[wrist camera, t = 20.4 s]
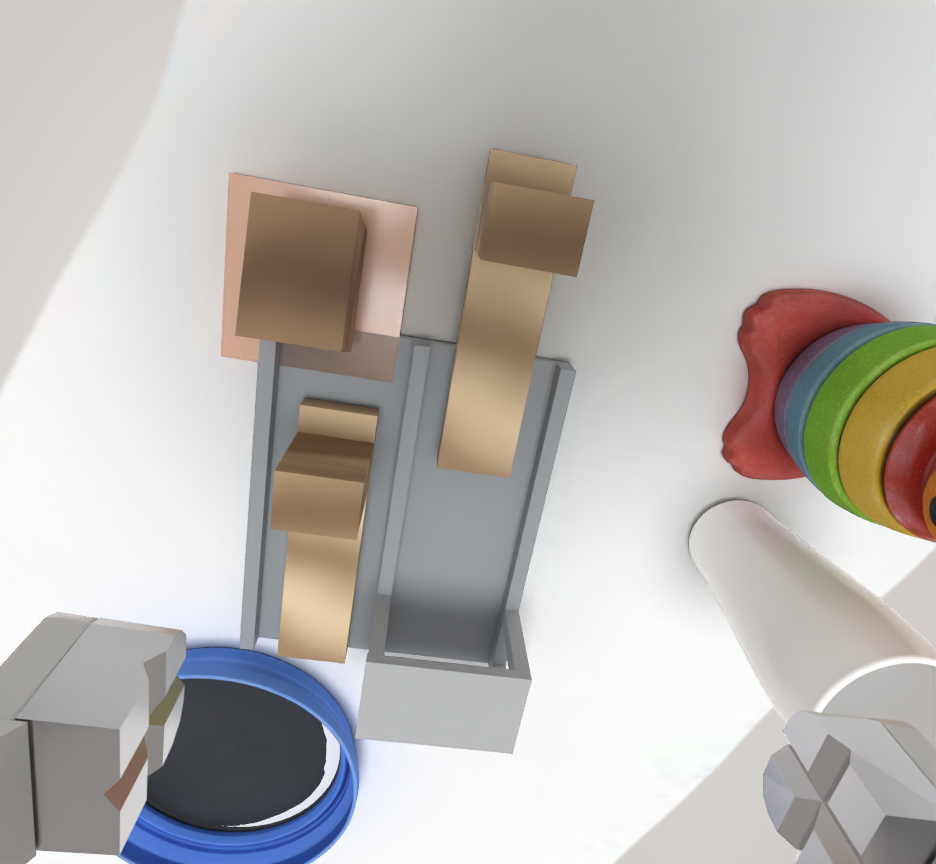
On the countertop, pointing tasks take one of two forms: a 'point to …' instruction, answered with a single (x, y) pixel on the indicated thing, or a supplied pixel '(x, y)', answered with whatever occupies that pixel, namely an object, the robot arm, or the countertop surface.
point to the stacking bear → (840, 406)
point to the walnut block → (301, 273)
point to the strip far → (322, 525)
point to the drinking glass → (812, 623)
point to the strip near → (508, 305)
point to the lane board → (416, 542)
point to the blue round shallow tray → (246, 767)
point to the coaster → (379, 276)
